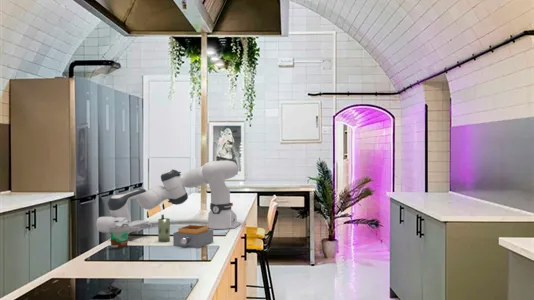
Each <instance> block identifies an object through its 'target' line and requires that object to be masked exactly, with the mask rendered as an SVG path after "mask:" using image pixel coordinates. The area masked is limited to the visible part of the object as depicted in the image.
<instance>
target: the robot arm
mask: <svg viewBox="0 0 534 300" xmlns="http://www.w3.org/2000/svg"><path fill="white" fill-rule="evenodd" d="M238 171H239V167H238V165H237V163H236V162H235V161H232V160H228V159H227V160H226V159H225V160H211V161H208V162H206V163H204V164H203V165H202V166H198V167H195V168H193V169H190V170H188V171H186V172H184V173H183V174H181V173H182V172H181V171H178V170H176V169H167V170H165V171H164V172H163V173H162V174H161V175H160V180H161V182H162V185H155V186H154V187H150V188H149V189H147V190H146V189H145V188H138V189H133V190H131V191H126V192H124V193H120V194H115V195H112V196H110V197H109V199H108V200H107V203H106V204H107V208H108V209H109V212H110V216H99V217H98V218H97V219H96V223H95V225H96V229H97V231H99V232H100V233H104V234H110V228H115V227H118V226H122V224H128V225H129V227H130V230H129V231H128V234H130V233H134V232H140V231H141V230H145V229H151V228H152V226H153V225H152V223H151V224H150V222H149V220H140V219H139V220H134V221H132V217H131V214H130V213H131V212H130V209H129V201H130V200H134V199H135V200H136V202H137V204H138V205H139V206H140V207H141V208H142V209H144V210H147V211H148V210H152V209H155V208H157V207H158V206H160V205H161V204H162V203H163V202H164V201H167V203H168V204H172V205H174V206H175V205H176V206H177V205H178V206H179V205H182V204H183V203H185V202H186V201H187V200H188V199H189V196H188V192H187V190H186V188H187V189H188V188H189V189H193V188H198V187H200V186H204V185H207V184H208V185H209V189H210V203H209V204H210V205H209V209H210V210H209V212H208V216H207V224H205V226H208V228H209V229H211V230H213V229H214V230H227V229H236V228H237V227H238V226H240V225H241V222H239V221H237V218H238V217H237V214H236V213H235V211H233V210H232V207H233V206H234V203H233V202H231V191H230V188H229V187H228V186H227V184H226V181H225V180H228V179H232V178H234V177H236V175H237V174H238Z"/></svg>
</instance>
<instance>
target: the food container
mask: <svg viewBox="0 0 534 300" xmlns="http://www.w3.org/2000/svg"><path fill="white" fill-rule="evenodd" d="M129 230H130V227H129V225H128V224H122V226H118V227H115V228H110V233H109V235H110V249H111V250H112V249H113V250H117V249H118V250H119V249H125V248H127V247H128V243H129V233H128V231H129Z"/></svg>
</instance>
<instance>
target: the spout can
mask: <svg viewBox="0 0 534 300" xmlns="http://www.w3.org/2000/svg"><path fill="white" fill-rule="evenodd" d="M160 216H161V218H158V219H157V221H158V222H157V224H158V227H157V228H158V230H157V231H158V233H157V234H158V243H168V242H170V241H171V231H170V230H171V225H170V224H171V223H170V222H171V220H170V218H167V217H165V214H161V215H160Z"/></svg>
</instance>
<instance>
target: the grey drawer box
mask: <svg viewBox="0 0 534 300" xmlns="http://www.w3.org/2000/svg"><path fill="white" fill-rule="evenodd" d="M172 234H173V237H172V238H173V241H172V242H173V244H172V245H173V246H175V247H186V248H195V249H199V248H202V247H205V246H207V245H209V244H212V243H213V242H214V230H213V229H210V228H208V226H206V225H197V224H196V225H195V224H189V225H186V226H182V227H179V228H178V230H177V231H175V232H173V233H172Z"/></svg>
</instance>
